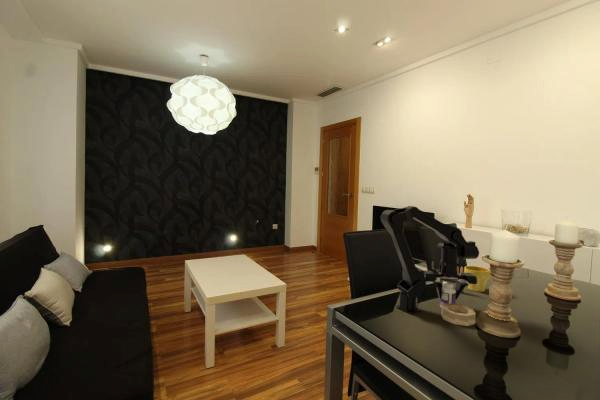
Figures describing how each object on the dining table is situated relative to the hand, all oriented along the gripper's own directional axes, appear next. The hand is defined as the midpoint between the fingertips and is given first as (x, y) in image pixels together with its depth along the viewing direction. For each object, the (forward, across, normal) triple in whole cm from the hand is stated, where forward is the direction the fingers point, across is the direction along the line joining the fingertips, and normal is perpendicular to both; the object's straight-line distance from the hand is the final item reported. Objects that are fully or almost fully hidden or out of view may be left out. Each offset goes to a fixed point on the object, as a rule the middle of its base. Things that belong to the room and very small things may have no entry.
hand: (447, 298), depth 116 cm
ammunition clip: (+4, -9, -22) cm, 24 cm away
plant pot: (+4, -21, -25) cm, 33 cm away
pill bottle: (+4, 0, 0) cm, 4 cm away
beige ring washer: (+4, 0, +10) cm, 11 cm away
